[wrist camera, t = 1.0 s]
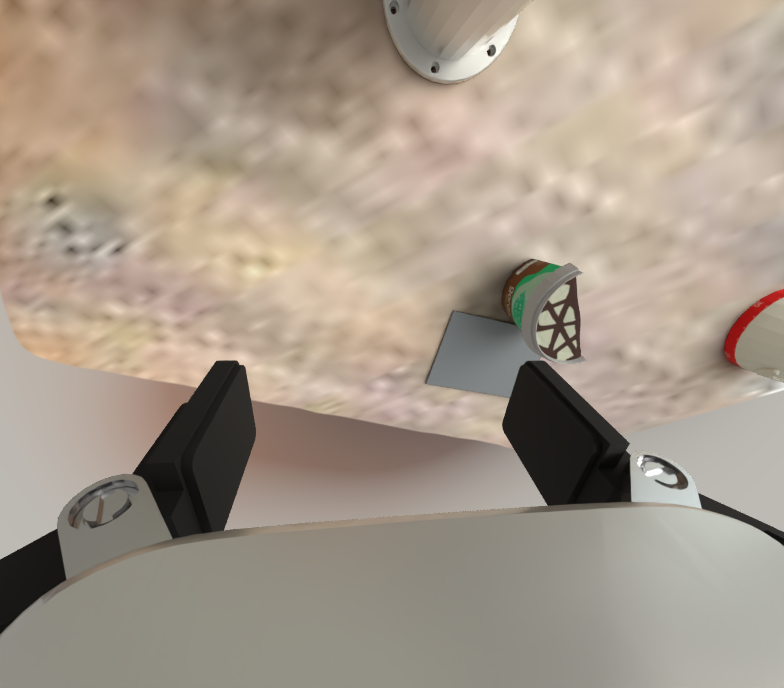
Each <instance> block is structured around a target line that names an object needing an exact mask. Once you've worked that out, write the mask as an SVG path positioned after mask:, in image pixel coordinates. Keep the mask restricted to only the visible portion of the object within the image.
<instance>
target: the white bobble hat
mask: <svg viewBox="0 0 784 688" xmlns="http://www.w3.org/2000/svg"><path fill="white" fill-rule="evenodd" d="M724 351H725V355H726V358H727V359H728V360H729V361H730V362H731V363H733V364H735V365H737V366H739V367H741V368H744V369H746V370H750V371H753V372H756V373H757V374H759V375H761V376H764V377H768V378H771V379H774V380H777V381H780V382H783V383H784V289H783V290H779V291H776V292H774V293H772V294H770V295H768V296H766V297H764V298H762V299H761V300H759V301H758V302H757V303H755V304H754V305H752V306H751V307H750V308H749V309H748V310H747V311H746V312H745V313H744V314H743V315H742V316H741V317H740V318H739V319H738V320H737V321H736V323H735V324H734V326H733V327H732V328H731V330H730V332H729V334H728V337H727V339H726V342H725V348H724Z"/></svg>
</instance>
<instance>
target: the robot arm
mask: <svg viewBox="0 0 784 688" xmlns="http://www.w3.org/2000/svg"><path fill="white" fill-rule="evenodd" d="M532 1H533V0H383V9H384V14H385V18H386V23H387V27H388V30H389V32H390V35H391V38H392V40H393V43H394V45H395V46H396V48H397V50H398V52H399V53H400V55H401V57H402V58H403V59H404V60H405V61H406V63H407V64H408V65H409V66H410V67H411V68H412V69H413V70H414V71H416V72H417V73H418V74H419V75H421V76H422V77H424V78H426V79H429V80H431V81H433V82H437V83H442V84H455V83H460V82H463V81H466V80H469V79H471V78H473V77H474V76H476V75H478V74H480V73H481V72H482V71H483V70H485V69H486V68H487V67H489V66H490V65H491V64H492V63H493V62H494V61H495V60H496V59H497V58H498V56H499V55H500V53H501V52H502V51H503V49H504V48H505V46H506V45H507V43H508V41H509V39H510V37H511V35H512V33H513V31H514V29H515V27H516V24H517V21H518V18H519V15H520V12H521V11H522V10H523V9H524V8H525V7H526V6H528V5H529V4H530V3H531V2H532ZM391 9H395V11H396V14H392V13H391ZM487 51H489V52H490V56H488V54H487ZM431 67H434V68H435V73H432V72H431ZM502 426H503V431H504V433H505V435H506V436H507V438H508V440H509V441H510V443H511V445H512V446H513V448H514V450H515V451H516V453H517V455H518V456H519V458H520V460H521V461H522V463H523V465H524V466H525V468H526V470H527V471H528V473H529V475H530V477H531V478H532V480H533V481H534V483H535V485H536V487H537V488H538V490H539V492H540V493H541V495H542V496H543V498H544V500H545V502H546V503H547V505H548V506H538V507H522V508H508V509H491V510H477V511H463V512H448V513H434V514H420V515H406V516H392V517H379V518H365V519H352V520H339V521H325V522H312V523H300V524H287V525H277V526H266V527H255V528H244V529H233V530H225V531H224V528H225V525H226V523H227V519H228V517H229V514H230V511H231V508H232V505H233V502H234V499H235V496H236V494H237V490H238V488H239V485H240V482H241V478H242V476H243V473H244V470H245V467H246V465H247V462H248V459H249V456H250V453H251V450H252V447H253V444H254V441H255V437H256V427H255V422H254V416H253V410H252V404H251V398H250V392H249V386H248V380H247V374H246V369H245V366H244V365H239V363H238V361H216V362H215V363H214V365H213V366H212V368H211V369H210V371H209V372H208V374H207V375H206V377H205V378H204V379H203V381H202V382H201V384H200V385H199V387H198V388H197V390H196V391H195V392H194V394H193V395H192V397H191V398H190V400H189V401H188V403H184V404H182V405H181V406H180V408H179V409H178V410H177V412H176V413H175V414H174V416H173V417H172V419H171V420H170V422H169V423H168V424H167V426H166V427H165V429H164V430H163V431H162V433H161V434H160V436H159V437H158V438H157V440H156V441H155V443H154V444H153V445H152V447H151V448H150V450H149V451H148V452H147V454H146V455H145V457H144V458H143V459H142V461H141V462H140V464H139V465H138V467H137V468H136V469H135V471H134V472H133V474H122V475H116V476H112V477H109V478H106V479H103V480H100V481H98V482H96V483H94V484H92V485H91V486H89V487H87V488H85V489H84V490H82V491H81V492H80V493H78V494H77V495H76V496H74V497H73V498H72V499H71V500H70V501H69V502H68V504H66V506H65V507H64V508H63V510H62V512H61V513H60V515H59V517H58V522H57V529H56V530H54V531H52V532H50V533H48V534H46V535H45V536H43V537H41V538H39V539H37V540H35V541H34V542H32V543H30V544H28V545H26V546H25V547H23V548H21V549H19V550H17V551H15V552H14V553H12V554H10V555H8V556H6V557H4V558H2V559H1V560H0V688H784V532H782V531H780V530H777V529H776V528H774V527H771V526H770V525H767V524H765V523H763V522H761V521H759V520H756V519H754V518H752V517H750V516H748V515H745V514H743V513H741V512H739V511H737V510H734V509H732V508H730V507H728V506H726V505H723V504H721V503H719V502H717V501H714V500H712V499H710V498H708V497H706V496H704V495H701V494H699V493H698V492H697V488H696V484H695V482H694V480H693V478H692V477H691V476H690V475H689V474H688V473H687V472H686V471H685V470H684V469H683V468H681V467H680V466H679V465H678V464H676V463H675V462H673V461H671V460H670V459H668V458H666V457H664V456H661V455H659V454H656V453H653V452H649V451H635V452H634V453H632V454H631V455H630V454H629V453H628V452H627V451H626V449H627V447H628V446H629V444H630V443H629V442H627V440H626V439H625V438H624V437H623V436H622V435H621V434H619V433H618V432H617V431H616V430H615V429H614V428H613V427H612V426H611V425H610V424H609V423H608V422H607V421H606V420H605V419H604V418H603V417H602V416H601V415H600V414H599V413H598V412H597V411H596V410H595V409H594V408H593V407H592V406H591V405H590V404H589V403H588V402H586V401H585V400H584V399H583V398H582V397H581V396H580V395H579V394H578V393H577V392H576V391H575V390H574V389H573V388H572V387H571V386H570V385H569V384H568V383H567V382H566V381H565V380H564V379H563V378H562V377H561V376H560V375H559V374H558V373H557V372H556V371H555V370H554V369H552V368H551V367H550V366H549V365H548V364H547V363H546V362H545V361H526V362H525V363H524V365H521V366H520V368H519V371H518V374H517V377H516V381H515V384H514V387H513V390H512V393H511V397H510V400H509V403H508V406H507V409H506V413H505V416H504V419H503V423H502Z"/></svg>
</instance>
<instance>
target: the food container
mask: <svg viewBox="0 0 784 688" xmlns="http://www.w3.org/2000/svg"><path fill="white" fill-rule="evenodd" d="M578 270H579V269H578V268H577V267H575V266H574V265H572V264H571V263H568V264H566V265H564V266H558V265H555V264H551V263H547V262H543V261H540V260H536V259H531V260H529V261H527V262H525V263H523V264H522V265H521V266H519V267H518V268H517V269H516V270H514V272H513V273H512V274H511V276H510V277H509V278H508V280H507V281H506V284H505V286H504V289H503V291H502V305H503V309H504V310H505V312H506V314H507V315H508V316H509V317H510V318H511V319H512V321H513V322H514V323H515V324H516V325H517V326H518V327H519V329H520V330H521V331H522V334H523V338H524V340H525V342H526V344H527V346H528V347H529V348H530V349H531V350H532V351H533V352H534V353H535V354H537V355H539V356H541V357H543V358H545V359H547V360H549V361H552V362H556V363H561V364H576V363H581V362H585V361H587V360H586V359H585V358H584V357H583V356H581V349H580V321H581V320H580V311H579V306H578V298H577V284H576V276H578V275H580V274H582V272H580V271H578Z"/></svg>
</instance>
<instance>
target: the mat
mask: <svg viewBox="0 0 784 688" xmlns="http://www.w3.org/2000/svg"><path fill="white" fill-rule="evenodd" d="M540 358H541V356H539V355H537V354H535V353H534V352H533V351H532V350H531V349H530V348H529V347H528V346H527V344H526V342H525V340H524V338H523V334H522V331H521V330H520V329H519V327H518V326H517V325H516V324H512V323H507V322H503V321H498V320H494V319H489V318H485V317H480V316H476V315H471V314H467V313H462V312H458V311H453V313H452V315H451V318H450V320H449V323H448V326H447V328H446V331H445V334H444V336H443V339H442V341H441V344H440V347H439V349H438V352H437V355H436V357H435V360H434V363H433V365H432V368H431V370H430V373H429V376H428V378H427V381H426V384H429V385H435V386H441V387H448V388H454V389H460V390H466V391H473V392H479V393H485V394H491V395H498V396H504V397H511V393H512V390H513V387H514V384H515V381H516V377H517V374H518V371H519V368H520V366H521V365H524V363H525V362H526V361H539V360H540Z"/></svg>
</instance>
